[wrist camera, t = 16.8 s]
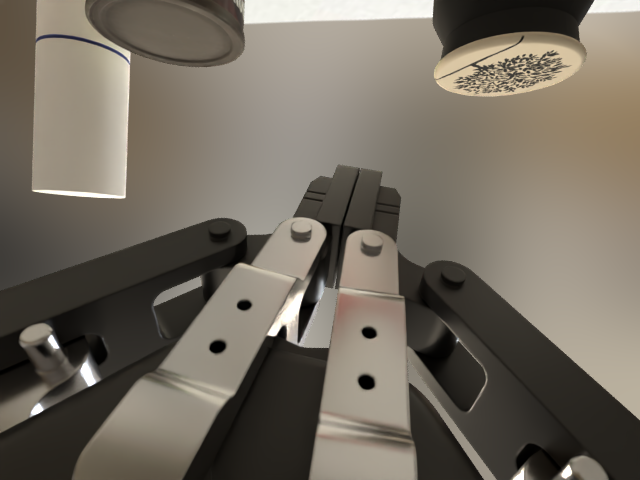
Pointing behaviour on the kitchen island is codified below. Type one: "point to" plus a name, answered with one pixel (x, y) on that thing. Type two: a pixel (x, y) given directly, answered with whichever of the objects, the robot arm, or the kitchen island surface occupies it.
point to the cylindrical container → (78, 105)
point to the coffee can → (173, 29)
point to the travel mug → (507, 44)
